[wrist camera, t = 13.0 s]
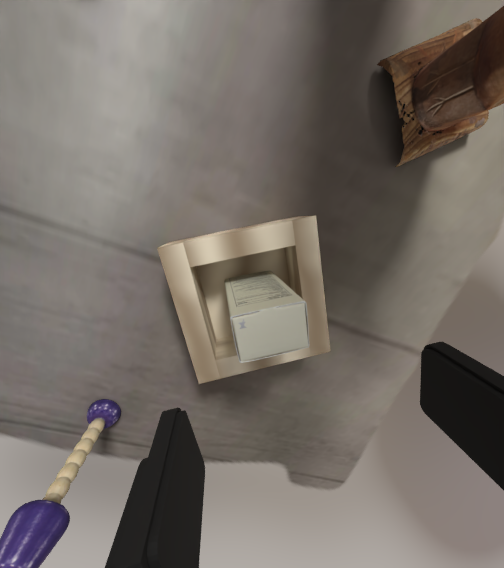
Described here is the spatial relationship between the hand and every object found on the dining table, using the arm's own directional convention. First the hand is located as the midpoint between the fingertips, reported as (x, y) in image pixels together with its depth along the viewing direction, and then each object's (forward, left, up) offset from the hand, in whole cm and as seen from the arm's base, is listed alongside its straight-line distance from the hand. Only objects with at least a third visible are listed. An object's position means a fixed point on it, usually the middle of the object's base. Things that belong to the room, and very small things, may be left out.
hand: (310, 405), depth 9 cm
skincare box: (0, +2, -22) cm, 22 cm away
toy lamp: (+23, +15, -23) cm, 36 cm away
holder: (0, +2, -23) cm, 23 cm away
